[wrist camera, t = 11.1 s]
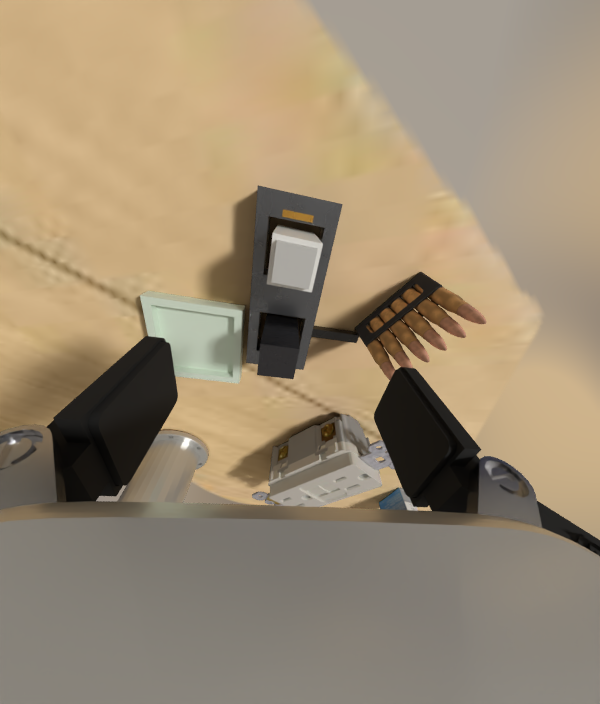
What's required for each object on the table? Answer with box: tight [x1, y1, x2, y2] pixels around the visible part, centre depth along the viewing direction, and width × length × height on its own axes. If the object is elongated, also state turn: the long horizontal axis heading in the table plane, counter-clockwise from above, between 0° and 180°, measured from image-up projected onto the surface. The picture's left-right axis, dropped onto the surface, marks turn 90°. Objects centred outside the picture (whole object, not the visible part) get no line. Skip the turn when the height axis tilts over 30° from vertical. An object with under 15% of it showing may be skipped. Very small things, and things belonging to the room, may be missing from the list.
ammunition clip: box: [355, 272, 486, 380], centre depth 26 cm, size 11×2×12 cm, turn 137°
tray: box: [140, 291, 245, 383], centre depth 32 cm, size 12×12×2 cm
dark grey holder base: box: [246, 186, 359, 379], centre depth 26 cm, size 20×15×9 cm
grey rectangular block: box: [267, 225, 323, 292], centre depth 22 cm, size 4×4×10 cm
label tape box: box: [379, 488, 418, 511], centre depth 55 cm, size 9×4×12 cm, turn 154°
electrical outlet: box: [252, 414, 395, 507], centre depth 42 cm, size 12×28×10 cm, turn 131°
